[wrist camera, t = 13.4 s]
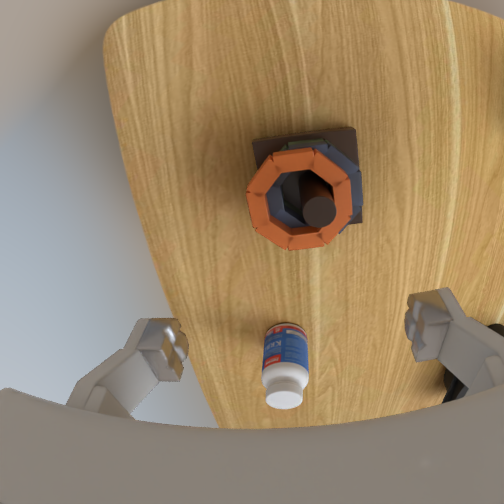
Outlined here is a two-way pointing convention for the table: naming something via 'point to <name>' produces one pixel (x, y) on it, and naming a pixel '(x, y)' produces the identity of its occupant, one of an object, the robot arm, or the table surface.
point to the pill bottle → (285, 365)
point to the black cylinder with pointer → (453, 383)
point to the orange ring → (291, 163)
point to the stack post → (312, 178)
